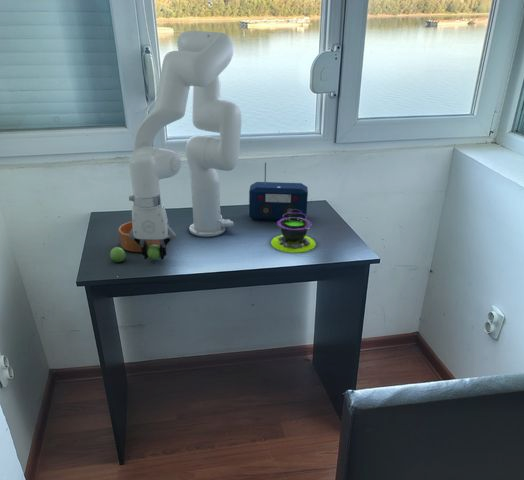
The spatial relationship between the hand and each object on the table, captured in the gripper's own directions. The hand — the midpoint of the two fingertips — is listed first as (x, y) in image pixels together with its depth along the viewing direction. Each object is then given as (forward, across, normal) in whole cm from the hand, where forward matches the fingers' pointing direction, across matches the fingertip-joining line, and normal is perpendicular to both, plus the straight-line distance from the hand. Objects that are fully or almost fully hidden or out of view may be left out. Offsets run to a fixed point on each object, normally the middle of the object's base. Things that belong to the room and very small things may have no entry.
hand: (154, 256), depth 161 cm
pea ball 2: (-2, 0, 0) cm, 2 cm away
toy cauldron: (+3, +44, +16) cm, 47 cm away
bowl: (+2, -7, +12) cm, 14 cm away
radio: (+3, +39, +39) cm, 55 cm away
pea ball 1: (-1, -11, 0) cm, 11 cm away
